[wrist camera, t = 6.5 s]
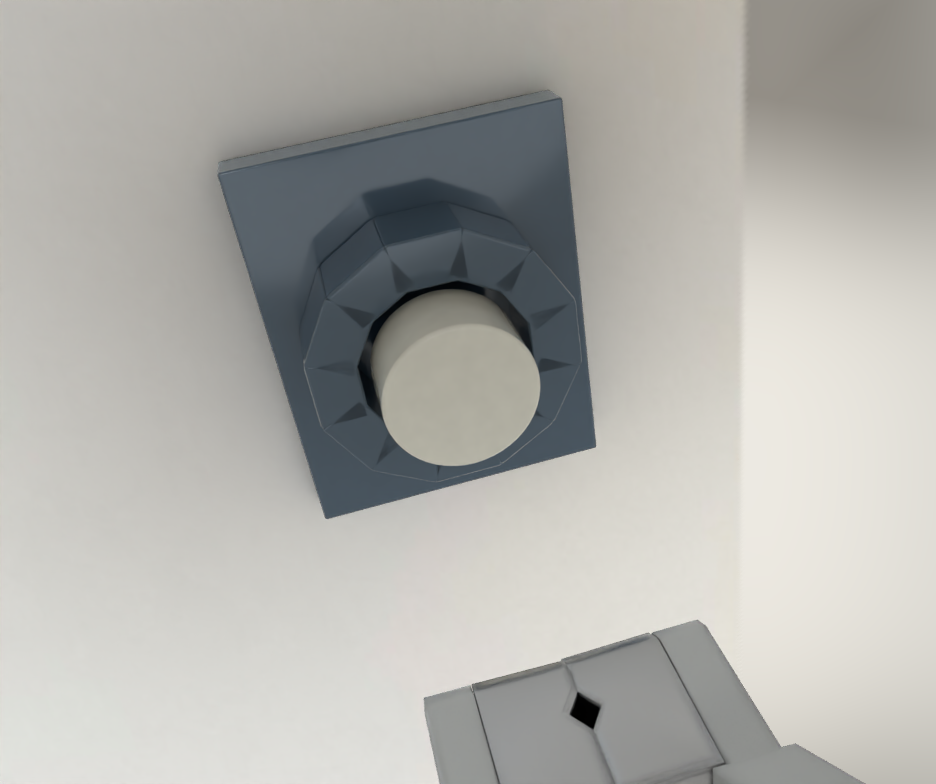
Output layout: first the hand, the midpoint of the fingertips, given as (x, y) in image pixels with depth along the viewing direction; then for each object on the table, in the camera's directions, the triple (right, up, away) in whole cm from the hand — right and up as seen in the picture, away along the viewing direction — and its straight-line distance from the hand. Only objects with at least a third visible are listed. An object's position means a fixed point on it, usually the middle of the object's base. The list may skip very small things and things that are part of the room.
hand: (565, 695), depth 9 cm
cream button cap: (-2, +4, +12) cm, 12 cm away
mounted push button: (-2, +5, +14) cm, 15 cm away
